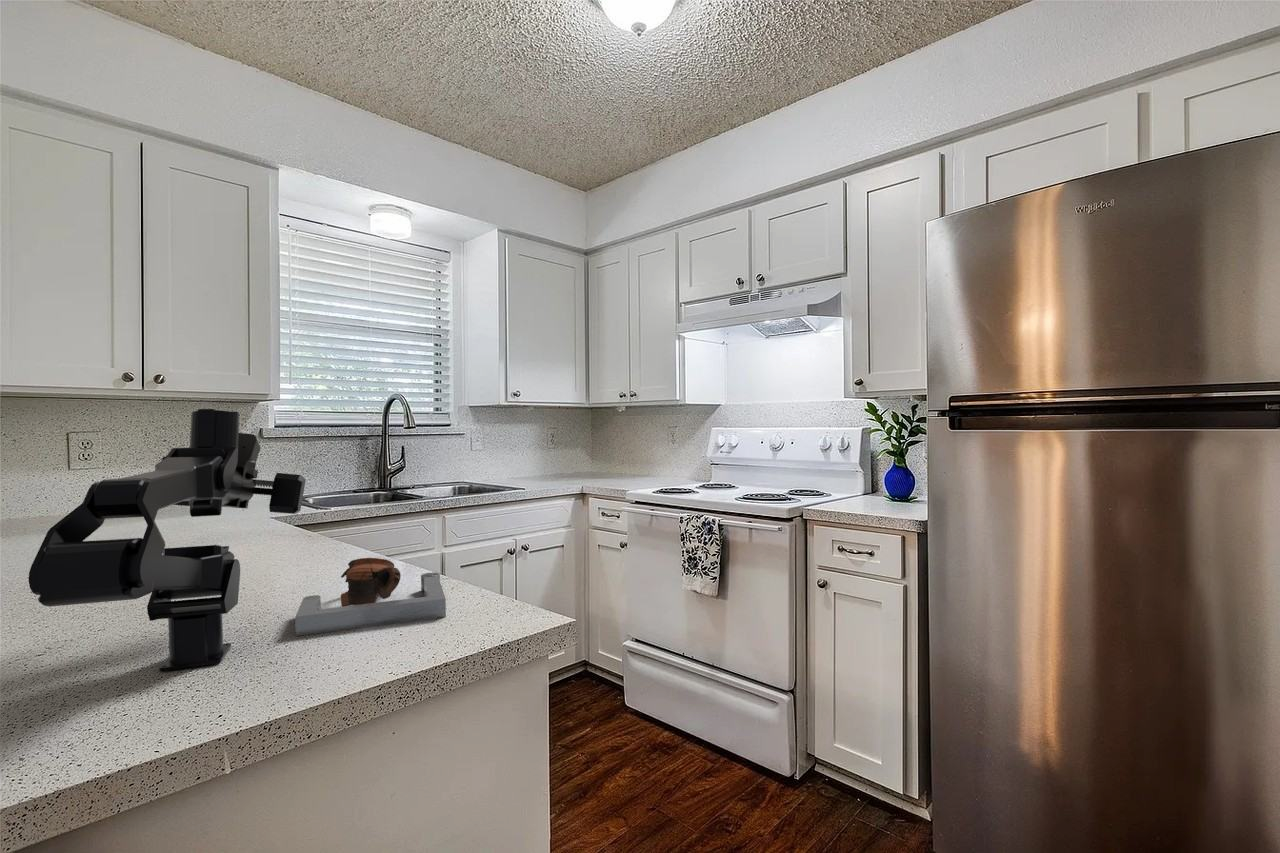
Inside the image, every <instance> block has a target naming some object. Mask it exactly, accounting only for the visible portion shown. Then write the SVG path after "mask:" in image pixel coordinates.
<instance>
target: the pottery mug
mask: <svg viewBox="0 0 1280 853" xmlns="http://www.w3.org/2000/svg"><path fill="white" fill-rule="evenodd" d="M347 566H349V567H348V568H347V569H346V570H345V571H344V572H343V573H342V574H341V575H340V578H341V579H343V578H345V582H344V583H347V588H348V590H347V591H345V592H343V593H341V594H340V604H341V605H340V607H341V606H342V607H343V606H352V605H360V604H369V603H376V600H377V597H378V595H379V598H381V599H382V600H385V599H389V598H390V597H391V594H392V592H394V591H395V590H396V589H397V587H398V586H399V583H400V580H401V577H402V576H401V572H400V570H399V569H398V568H397V567H395V564H394V562H393V561H391V560H389V559H386V558H379V557H363V558H362V557H361V558H356V559H352V560H350V562H348V563H347Z"/></svg>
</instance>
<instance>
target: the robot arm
mask: <svg viewBox="0 0 1280 853" xmlns="http://www.w3.org/2000/svg"><path fill="white" fill-rule="evenodd" d="M190 414H191V417H190V432H189V434H190V435H189V437H190V438H189V447H172V448H171V449H170V451H169V452H168V453H167V455H165V456H163V457H162V459H161V461H158V462H157V463H156V464H155V465H154V470H153V471H148V472H145V473H144V472H143V473H139V474H134V475H129V476H125V477H121V478H112V479H111V478H109V479H106V478H105V479H102V480H101V481H97V482H94V483H92V484H91V485H90V486H89V488H88V491H87V492H86V494H85V497H84V499H83V501H82V502H81V504H79V505H78V506H76V507H75V508H74V509H73V510H72V511H70V512H69V513H68V514H67V515H65V516H64V517H63V518H61V519H60V520H59V521H58V522H56V523H55V524H54V525H53V526H52V527H50V528H49V529H48V530H47V532H46V534H45V537H44V539H43V541H42V543H41V544H40V547H39V549H38V550H37V553H36V555H35V557H34V559H33V561H32V563H31V565H30V569H29V572H28V584H29V585H28V586H29V590H31V592H32V593H33V594H34V595H36V596H39V597H38V598H37V601H38V602H39V603H40V604H41V605H42V606H45V607H61V606H62V607H63V606H71V605H72V606H73V605H84V604H96V603H98V604H99V603H106V602H109V603H110V602H118V601H119V602H121V601H131V600H132V601H133V600H137V599H141V598H142V597H145V596H147V595H149V594H151V595H150V596H149V599H148V603H147V606H146V610H147V611H146V612H147V615H148V619H149V622H150V621H151V622H153V621H156V620H165V619H167V622H168V627H167V628H168V650H169V651H168V652H169V653H168V654H169V655H168V657H167V658H166V659H165V660H164V661H162V662H163V663H162V664H160V665H159V667H158V670H159V672H168V671H173V670H181V669H186V668H187V669H189V668H195V667H201V666H203V667H204V666H209V665H216V664H219V663H221V662H222V661H223V660H224V658H225V657H226V655H227V654H228V652H229V651H230V649H231V648H232V643H231V642H226V643H224V633H223V631H224V629H223V627H224V626H223V625H224V624H223V615H224V614H228V613H229V612H230V611H231V610H232V609H233V608H234V607H236V606H237V605H238V603H239V592H240V581H241V580H240V579H241V563H240V560H239V559H237V558H235V555H234V553H233V552H231V551H229V550H230V545H226V546H222V545H218V544H211V545H198V546H195V545H193V546H182V547H181V546H180V547H167V548H166V541H165V539H164V538H163V535H162V533H161V531H160V529H159V527H158V525H157V523H156V521H155V520H156V517H157V515H158V511H159V510H162V509H165V508H168V507H170V506H183V507H189V515H190V517H191V518H195V517H197V518H198V517H213V516H215V517H217V516H221V515H222V509H223V508H232V509H233V508H236V509H248V507H249V502H250V500H251V499H252V498H253V496H254V495H261V496H263V495H264V496H270V500H269V506H268V508H269V509H268V510H269V512H270V513H276V514H277V513H278V514H287V515H289V514H291V515H297V514H298V513H300V512H301V509H302V503H303V497H304V491H305V488H306V487H305V486H306V478H305V477H304V476H303V475H301V474H297V473H296V474H295V473H285V472H284V473H283V472H276V473H275V475H274V478H273V480H265V479H264V480H263V479H257V478H258V474H259V469H256V466H257V461H258V457H259V454H260V451H261V448H262V447H261V445H260V443H259V441H258V437H257V436H256V435H255V434H253V433H245V432H240V412H238V411H229V410H221V409H220V410H216V409H215V408H198V410H196V411H192V412H191V413H190ZM129 518H143V519H144V521H145V522H146V525H147V526H146V528H145V532H144V534H143V537H134V538H131V537H130V538H116V539H114V538H113V539H100V540H97V539H96V540H86V539H87V538H89V536H91V535H92V534H93V533H94V532H96V531H98V529H99V528H100V527H102V525H103V524H104V523H105V520H107V519H108V520H109V519H129Z"/></svg>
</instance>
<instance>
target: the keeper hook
mask: <svg viewBox="0 0 1280 853" xmlns="http://www.w3.org/2000/svg"><path fill="white" fill-rule="evenodd" d="M440 576H441V573H439V572H426V573H423V574H421V575H420V589H421V590H420V591H421V593H423V594H424V595H423V596H421V597H414V598H412V597H411V598H403V599H394V600H388V601H387V600H386V601H378V602H375V603H369V604H360V605H349V606H343V607H341V606H337V607H328V608H322V607H321V606H322V605H321V604H322V603H321V601H322V600H321V599H322V598H321V595H318V594H317V595H309V596H308V595H307V596H305V597H303V598H302V600H301V603H300V604H299V605H300V606H299V607H298V609H297V611H296V614H295V617H294V619H295V620H294V622H295V623H294V624H295V626H294V627H295V628H294V629H295V637H301V636H306V635H307V636H308V635H316V634H324V633H331V631H332V632H339V631H345V630H346V631H347V630H353V629H361V628H368V627H376V626H377V627H378V626H384V625H392V624H398V623H399V624H400V623H401V624H402V623H406V622H408V623H409V622H414V621H415V622H416V621H423V620H430V619H431V620H432V619H438V618H445V617H447V602H446V596H445V593H444V590H443V587H442V583H441V577H440ZM323 632H324V633H323ZM300 635H301V636H300Z"/></svg>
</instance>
